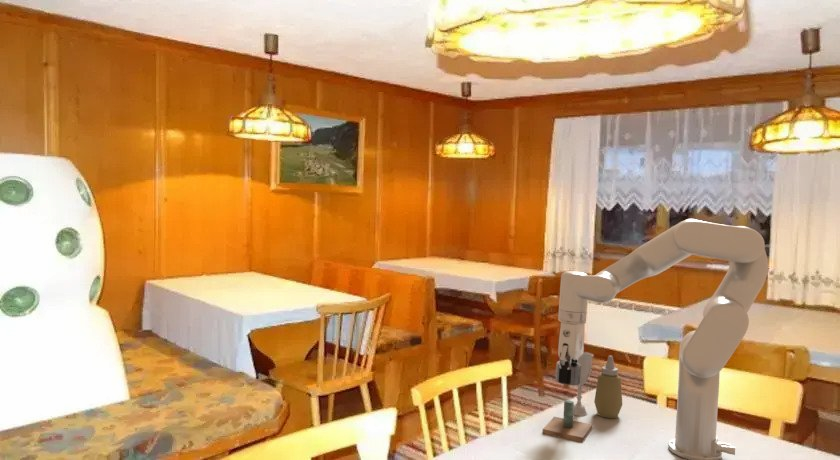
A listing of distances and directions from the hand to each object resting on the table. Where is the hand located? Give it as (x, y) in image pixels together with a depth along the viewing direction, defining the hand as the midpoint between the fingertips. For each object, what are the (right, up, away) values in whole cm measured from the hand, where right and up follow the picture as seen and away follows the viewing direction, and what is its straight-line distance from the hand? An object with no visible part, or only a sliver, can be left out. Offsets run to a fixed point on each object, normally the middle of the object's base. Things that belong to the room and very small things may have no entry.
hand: (567, 379), depth 168 cm
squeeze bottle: (+15, -14, +14) cm, 25 cm away
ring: (0, -1, 0) cm, 1 cm away
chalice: (+7, -14, +15) cm, 22 cm away
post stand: (0, -15, +1) cm, 15 cm away
